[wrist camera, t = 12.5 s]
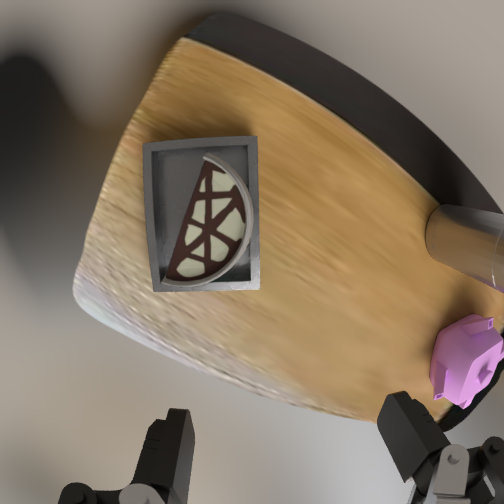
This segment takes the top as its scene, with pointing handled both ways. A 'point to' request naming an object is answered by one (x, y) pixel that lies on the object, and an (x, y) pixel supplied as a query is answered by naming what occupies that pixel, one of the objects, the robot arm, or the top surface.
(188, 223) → the grey speckled half-round piece
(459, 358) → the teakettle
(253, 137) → the grey metal tray
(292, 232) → the top surface
